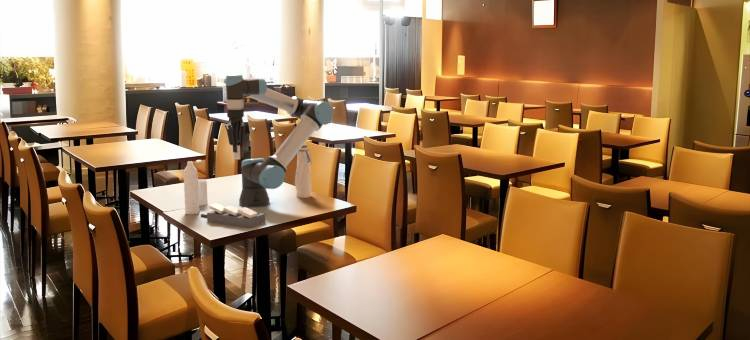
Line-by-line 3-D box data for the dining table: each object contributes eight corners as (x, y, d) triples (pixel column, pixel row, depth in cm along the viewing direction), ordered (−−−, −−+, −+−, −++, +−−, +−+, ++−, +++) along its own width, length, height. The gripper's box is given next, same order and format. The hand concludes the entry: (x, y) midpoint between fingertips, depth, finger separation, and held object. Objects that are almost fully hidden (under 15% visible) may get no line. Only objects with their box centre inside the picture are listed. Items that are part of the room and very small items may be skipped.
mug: (181, 206, 304) (180, 182, 302) (198, 201, 315) (197, 178, 312) (194, 208, 301) (193, 184, 298) (210, 203, 311) (209, 180, 309)
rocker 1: (216, 205, 281) (217, 203, 281) (228, 211, 279) (228, 208, 278) (209, 208, 277) (209, 205, 276) (221, 213, 274) (221, 211, 274)
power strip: (209, 213, 291) (208, 203, 290) (265, 222, 277) (264, 211, 276) (192, 219, 281) (192, 208, 280) (250, 228, 267) (249, 217, 266)
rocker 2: (230, 207, 278) (230, 205, 277) (242, 213, 275) (243, 210, 275) (223, 210, 273) (223, 207, 273) (235, 216, 271) (235, 213, 270)
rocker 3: (244, 209, 274) (245, 206, 274) (256, 215, 272) (257, 212, 271) (237, 212, 270) (238, 209, 269) (249, 218, 267) (250, 215, 267)
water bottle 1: (188, 215, 287) (185, 163, 283) (183, 212, 292) (180, 161, 288) (206, 212, 293) (203, 161, 288) (200, 209, 298) (198, 159, 293)
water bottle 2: (317, 196, 328) (316, 144, 323) (306, 199, 321) (305, 146, 316) (302, 193, 334) (301, 142, 328) (291, 196, 326) (290, 144, 321)
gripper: (237, 107, 289) (239, 156, 293) (219, 109, 277) (221, 160, 282) (250, 107, 286) (252, 157, 290) (232, 110, 274) (234, 161, 279)
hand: (237, 159), depth 286 cm, fingers closed
